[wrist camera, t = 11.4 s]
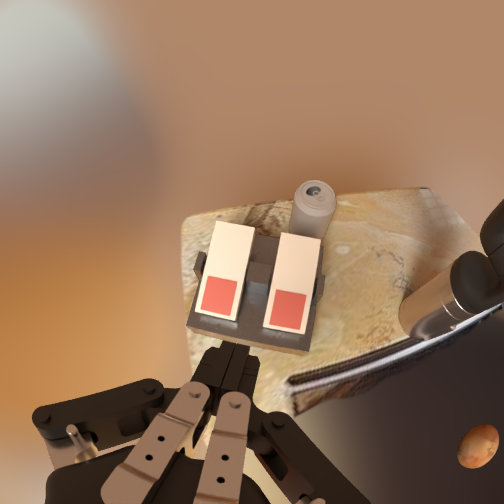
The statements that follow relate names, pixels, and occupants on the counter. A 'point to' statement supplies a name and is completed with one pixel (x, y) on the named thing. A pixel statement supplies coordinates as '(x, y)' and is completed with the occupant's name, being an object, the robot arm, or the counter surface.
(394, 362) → the counter surface
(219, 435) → the robot arm
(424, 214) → the counter surface
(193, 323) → the switch box
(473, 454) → the onion
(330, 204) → the can
